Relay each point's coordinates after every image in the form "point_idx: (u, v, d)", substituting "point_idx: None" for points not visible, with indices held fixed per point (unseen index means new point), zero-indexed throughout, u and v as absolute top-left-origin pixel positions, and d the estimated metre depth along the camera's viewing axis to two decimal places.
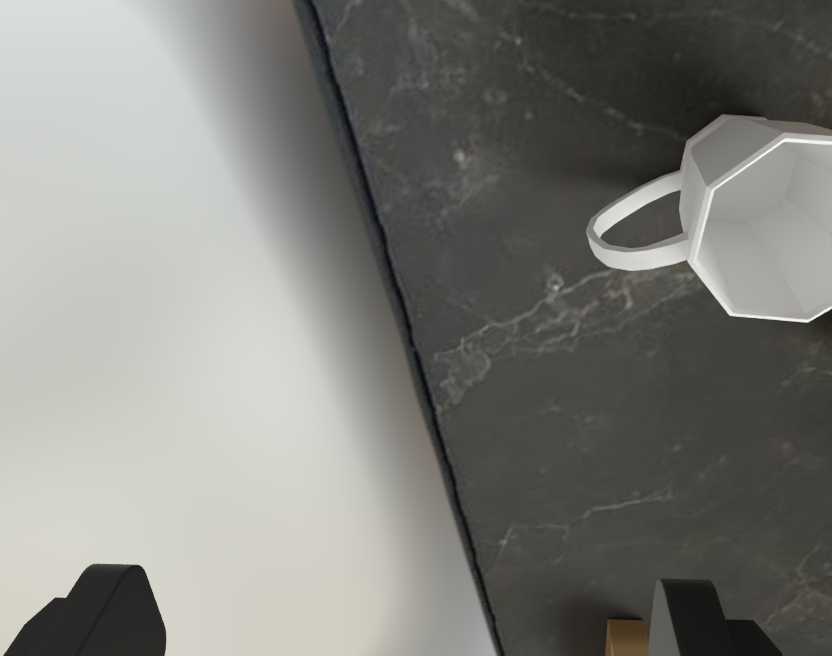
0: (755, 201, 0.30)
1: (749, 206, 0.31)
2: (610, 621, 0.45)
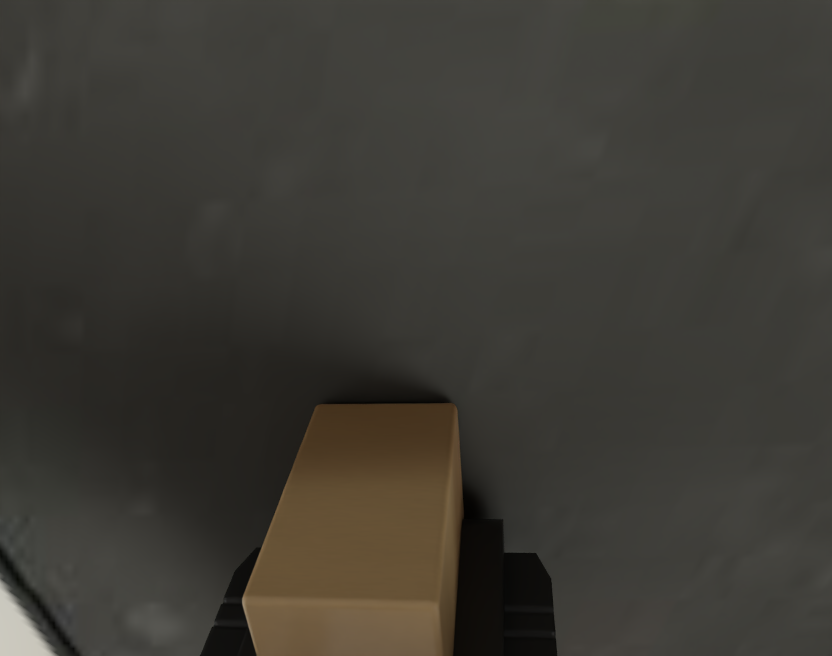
0: None
1: None
2: (321, 410, 0.11)
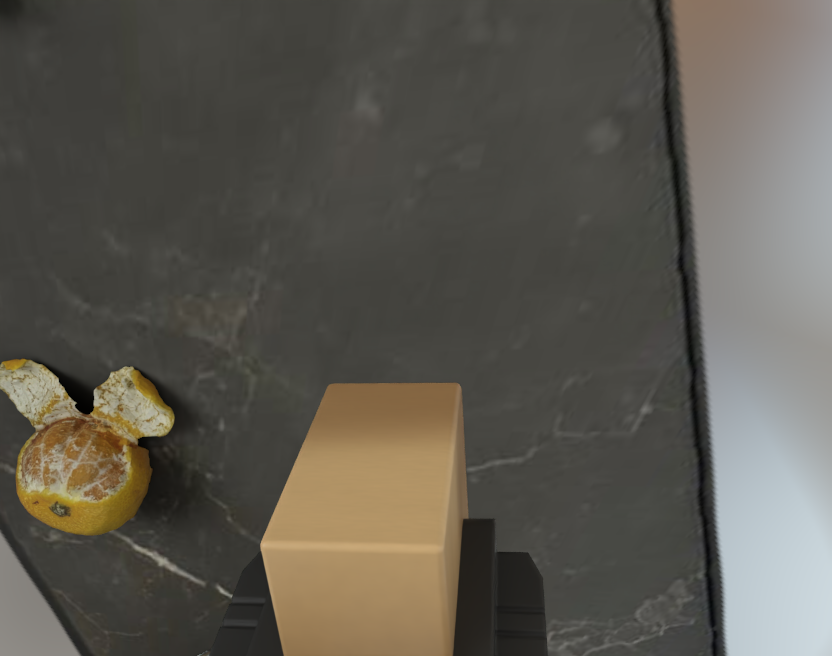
0: None
1: None
2: (333, 388, 0.12)
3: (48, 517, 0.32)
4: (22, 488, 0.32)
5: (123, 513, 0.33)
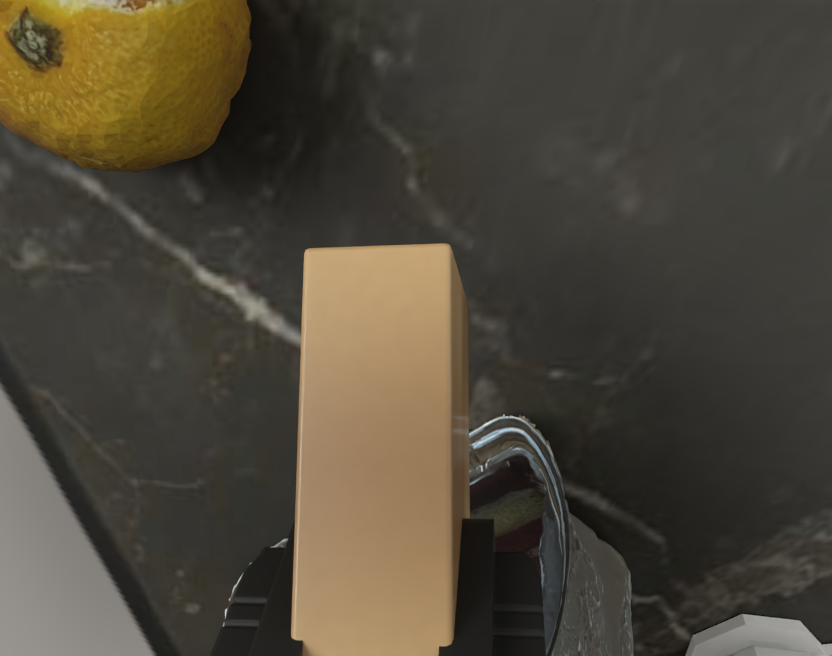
0: None
1: None
2: None
3: (5, 74, 0.13)
4: None
5: (194, 86, 0.13)
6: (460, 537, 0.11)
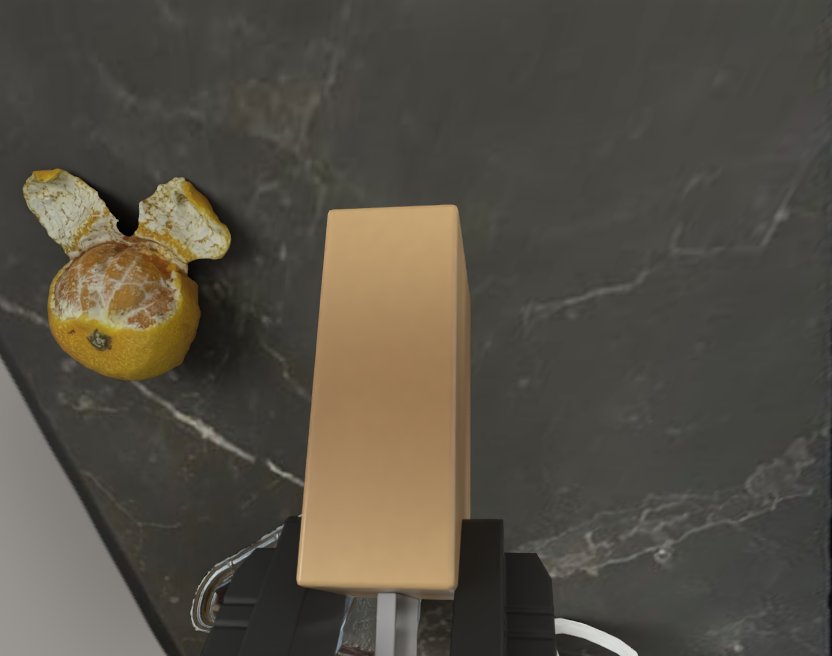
0: None
1: None
2: None
3: (85, 351, 0.28)
4: (56, 317, 0.28)
5: (171, 351, 0.28)
6: (461, 476, 0.12)
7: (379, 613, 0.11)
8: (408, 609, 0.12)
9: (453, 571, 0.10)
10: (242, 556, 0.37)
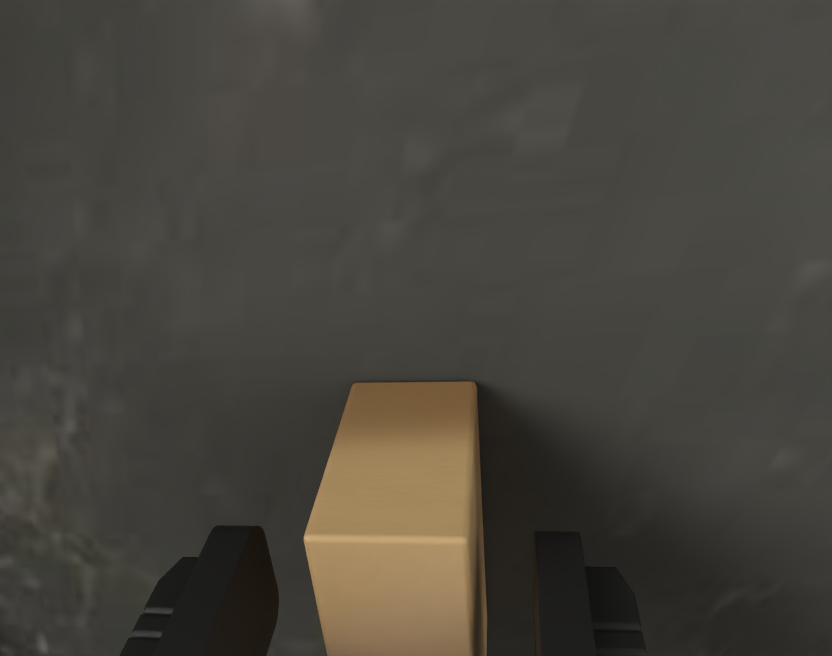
0: None
1: None
2: (358, 387, 0.13)
3: None
4: None
5: None
6: None
7: None
8: None
9: None
10: None
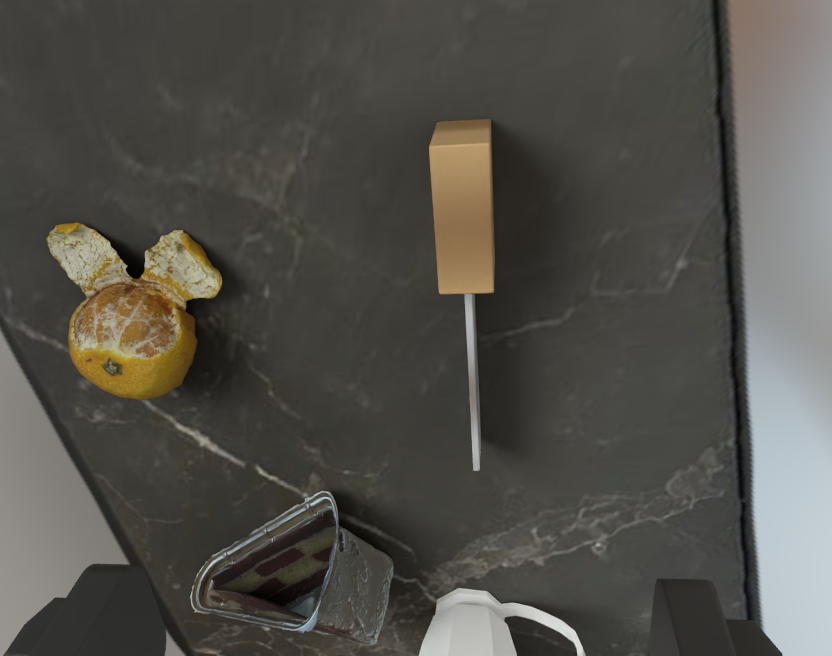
0: None
1: None
2: (439, 122, 0.29)
3: (100, 376, 0.33)
4: (75, 347, 0.33)
5: (172, 375, 0.34)
6: None
7: None
8: None
9: (493, 287, 0.29)
10: (235, 548, 0.42)
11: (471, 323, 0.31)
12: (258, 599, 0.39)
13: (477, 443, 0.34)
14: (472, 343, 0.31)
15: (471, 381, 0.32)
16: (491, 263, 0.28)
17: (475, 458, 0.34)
